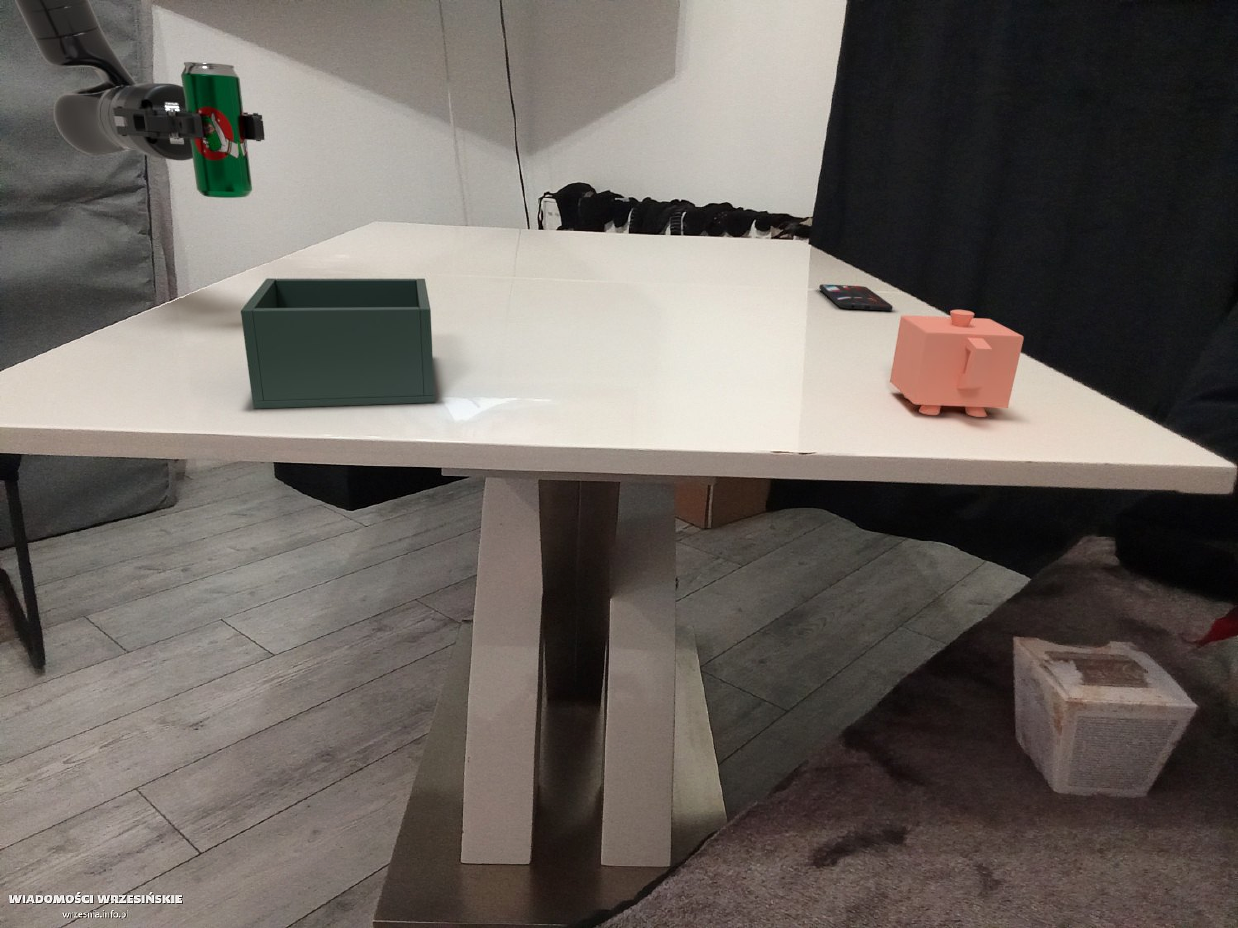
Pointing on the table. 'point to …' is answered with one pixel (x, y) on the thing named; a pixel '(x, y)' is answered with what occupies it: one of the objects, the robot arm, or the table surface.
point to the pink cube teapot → (955, 362)
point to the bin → (339, 342)
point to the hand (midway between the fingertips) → (229, 127)
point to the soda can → (218, 130)
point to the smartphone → (855, 297)
